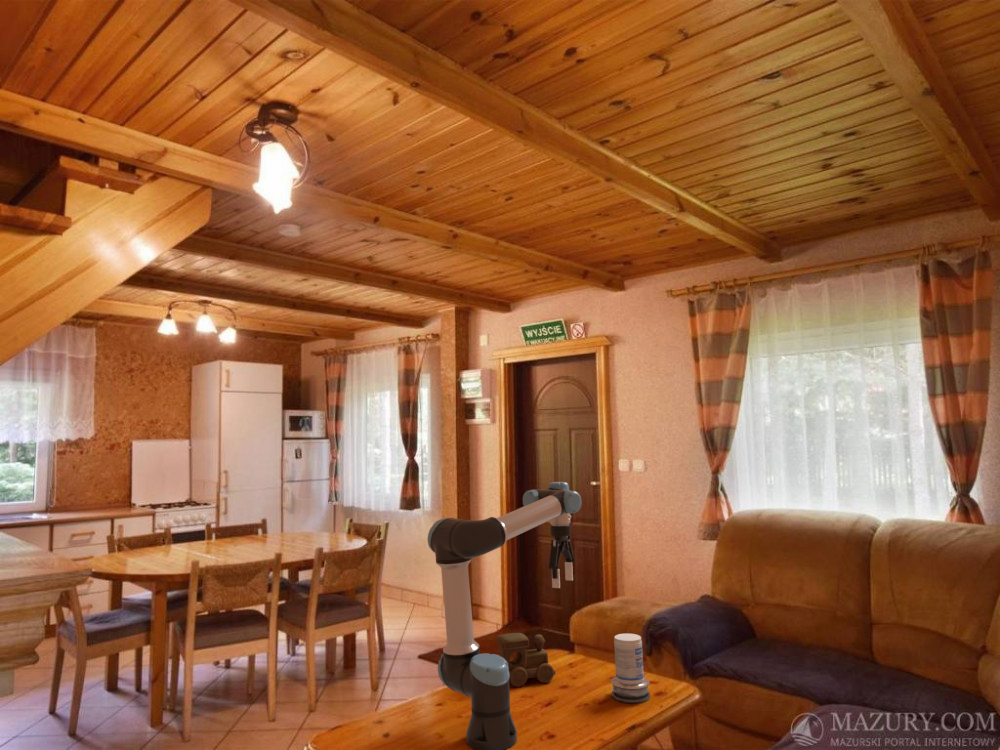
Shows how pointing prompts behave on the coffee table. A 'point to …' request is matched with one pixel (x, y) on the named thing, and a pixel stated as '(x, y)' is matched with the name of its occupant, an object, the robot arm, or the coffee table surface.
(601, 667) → the coffee table surface
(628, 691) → the duct stub
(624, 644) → the supplement tub
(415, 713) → the coffee table surface
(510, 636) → the wooden toy train
